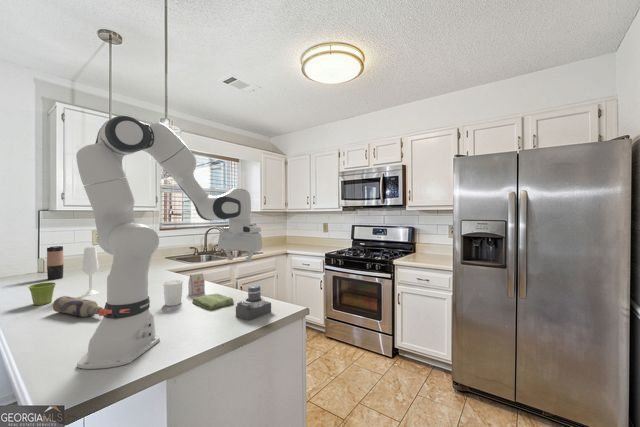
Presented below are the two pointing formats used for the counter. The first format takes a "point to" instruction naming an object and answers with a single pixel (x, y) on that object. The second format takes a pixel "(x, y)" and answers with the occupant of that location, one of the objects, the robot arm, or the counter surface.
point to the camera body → (252, 309)
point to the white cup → (172, 292)
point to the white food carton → (196, 284)
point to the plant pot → (42, 293)
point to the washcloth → (212, 301)
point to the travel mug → (55, 262)
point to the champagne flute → (90, 266)
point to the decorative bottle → (76, 306)
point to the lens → (254, 294)
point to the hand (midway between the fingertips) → (239, 260)
